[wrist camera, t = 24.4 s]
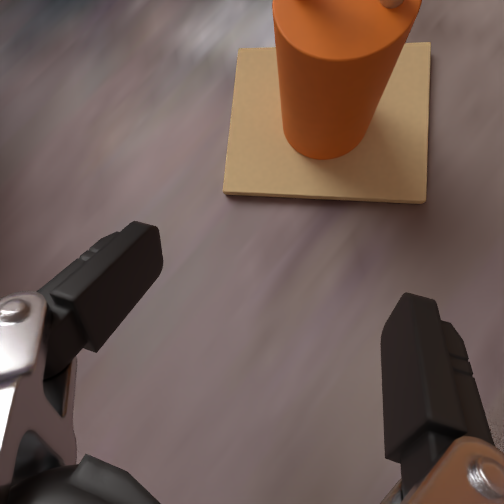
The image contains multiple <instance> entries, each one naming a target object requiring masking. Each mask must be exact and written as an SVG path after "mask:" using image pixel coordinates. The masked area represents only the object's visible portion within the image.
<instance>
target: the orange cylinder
mask: <svg viewBox="0 0 504 504" xmlns="http://www.w3.org/2000/svg"><path fill="white" fill-rule="evenodd" d="M421 2H422V0H273V3H272V8H273V20H274V32H275V43H276V55H277V66H278V78H279V89H280V101H281V113H282V124H283V131H284V134H285V137H286V139H287V141H288V142H289V144H290V145H291V146H292V147H293V148H294V149H295V150H296V151H297V152H299V153H300V154H302V155H304V156H306V157H309V158H312V159H318V160H328V159H334V158H338V157H340V156H343V155H345V154H347V153H349V152H350V151H351V150H353V149H354V148H355V147H356V146H357V145H358V144H359V143H360V142H361V140H362V139H363V137H364V135H365V133H366V131H367V129H368V127H369V124H370V122H371V120H372V117H373V115H374V113H375V111H376V108H377V106H378V104H379V101H380V99H381V97H382V95H383V92H384V90H385V88H386V85H387V83H388V81H389V78H390V76H391V74H392V72H393V69H394V67H395V65H396V62H397V60H398V58H399V56H400V53H401V51H402V49H403V46H404V44H405V42H406V39H407V37H408V35H409V33H410V30H411V28H412V26H413V23H414V21H415V19H416V17H417V14H418V12H419V9H420V6H421Z"/></svg>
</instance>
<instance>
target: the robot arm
mask: <svg viewBox="0 0 504 504" xmlns="http://www.w3.org/2000/svg"><path fill="white" fill-rule="evenodd" d="M162 267H163V255H162V248H161V241H160V234H159V230H158V228H157V227H156V226H153V225H149V224H145V223H141V222H138V221H133V222H131V223H130V224H129V225H128V226H126V227H125V228H124V229H123V230H122V231H121V232H115V233H113V234H110V235H108V236H106V237H104V238H101V239H100V240H99V241H98V242H97V243H95V244H94V245H93V246H92V247H90V249H89V251H88V250H87V251H86V252H84V253H83V254H82V255H81V256H80V258H79V259H76V260H75V261H73V262H72V263H71V264H70V265H69V266H67V267H66V268H65V269H64V270H63V271H61V272H60V273H59V274H58V275H56V276H55V277H54V278H53V279H52V280H50V281H49V282H48V283H47V284H46V285H44V286H43V287H42V288H41V289H39V290H38V291H37V292H34V291H22V292H17V293H13V294H10V295H7V296H5V297H3V298H1V299H0V504H160V503H159V502H158V501H157V500H156V499H155V498H154V497H153V496H152V495H151V494H150V493H149V492H148V491H147V490H146V489H145V488H144V487H143V486H142V485H141V484H140V483H139V482H138V481H137V480H136V479H134V478H133V477H132V476H131V475H130V474H129V473H128V472H127V471H125V470H122V469H120V468H118V467H115V466H113V465H111V464H108V463H106V462H104V461H101V460H99V459H97V458H94V457H92V456H90V455H88V454H85V456H84V457H83V459H82V460H81V462H80V463H79V464H76V459H77V446H76V438H75V434H74V430H73V408H74V396H75V384H76V372H77V357H76V355H77V354H78V353H79V352H80V351H81V349H82V348H84V349H87V350H90V351H93V352H96V353H97V352H98V351H99V349H100V348H101V347H102V346H103V344H104V343H105V342H106V341H107V340H108V338H109V337H110V336H111V335H112V333H113V332H114V331H115V330H116V328H117V327H118V326H119V325H120V324H121V322H122V321H123V320H124V319H125V317H126V316H127V315H128V314H129V312H130V311H131V310H132V309H133V308H134V306H135V305H136V304H137V303H138V301H139V300H140V299H141V298H142V296H143V295H144V294H145V293H146V292H147V290H148V289H149V288H150V287H151V285H152V284H153V283H154V282H155V280H156V279H157V278H158V277H159V275H160V273H161V271H162ZM468 359H469V358H468V355H467V351H466V348H465V345H464V341H463V339H462V338H461V337H460V335H459V334H458V332H457V331H456V330H455V328H454V327H453V325H452V324H451V323H449V322H446V321H442V320H441V319H440V315H439V310H438V306H437V303H436V301H435V300H433V299H430V298H426V297H422V296H418V295H415V294H411V293H404V294H403V295H402V297H401V298H400V300H399V302H398V303H397V305H396V307H395V308H394V310H393V312H392V313H391V315H390V317H389V318H388V320H387V322H386V323H385V325H384V328H383V331H382V335H381V366H382V392H383V418H384V444H385V458H386V459H389V460H392V461H394V462H397V463H400V464H401V477H402V478H401V479H400V480H399V481H398V482H397V483H396V484H395V486H394V487H393V488H392V489H391V490H390V492H389V493H388V494H387V495H386V497H385V498H384V499H383V500H382V501H381V503H380V504H504V453H502V452H501V451H500V450H499V449H498V448H496V447H495V444H494V442H493V439H492V436H491V432H490V429H489V426H488V422H487V419H486V416H485V412H484V409H483V405H482V402H481V399H480V395H479V392H478V388H477V385H476V382H475V378H473V377H472V375H473V372H472V368H471V365H470V362H468Z"/></svg>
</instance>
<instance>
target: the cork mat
mask: <svg viewBox="0 0 504 504" xmlns="http://www.w3.org/2000/svg"><path fill="white" fill-rule="evenodd" d="M430 53H431V43H430V42H426V43H405V44H404V46H403V49H402V51H401V53H400V56H399V58H398V60H397V62H396V65H395V67H394V69H393V72H392V74H391V76H390V78H389V81H388V83H387V85H386V88H385V90H384V92H383V95H382V97H381V99H380V101H379V104H378V106H377V108H376V111H375V113H374V115H373V117H372V120H371V122H370V124H369V127H368V129H367V131H366V133H365V135H364V137H363V139H362V140H361V142H360V143H359V144H358V145H357V146H356V147H355V148H354V149H353V150H351V151H350V152H349V153H347V154H345V155H343V156H340V157H338V158H334V159H328V160H318V159H312V158H309V157H306V156H304V155H302V154H300V153H299V152H297V151H296V150H295V149H294V148H293V147H292V146H291V145H290V144H289V142H288V141H287V139H286V137H285V134H284V131H283V124H282V113H281V101H280V89H279V78H278V66H277V55H276V47H272V48H241V49H239V50H238V58H237V67H236V76H235V85H234V94H233V103H232V112H231V121H230V130H229V139H228V148H227V157H226V166H225V175H224V184H223V193H224V194H226V195H247V196H267V197H288V198H309V199H330V200H351V201H371V202H392V203H413V204H422V203H424V202H425V201H426V186H427V153H428V120H429V87H430Z"/></svg>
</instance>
